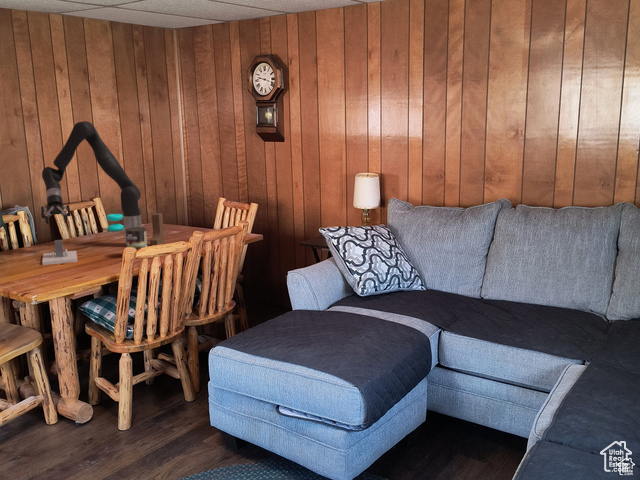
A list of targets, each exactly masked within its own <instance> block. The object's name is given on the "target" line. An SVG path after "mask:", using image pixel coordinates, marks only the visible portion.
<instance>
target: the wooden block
mask: <svg viewBox="0 0 640 480" xmlns="http://www.w3.org/2000/svg"><path fill="white" fill-rule="evenodd" d="M163 217H164V215H163V213H159V212H155V213H152V214H151V222H152V223H151V224H152V237H151V238H150V240H149V247H150V246H152V245H157V244H163V243H164V244H165V234H164V230H165V229H164V219H163Z"/></svg>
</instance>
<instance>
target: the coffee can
mask: <svg viewBox="0 0 640 480" xmlns="http://www.w3.org/2000/svg"><path fill="white" fill-rule="evenodd" d="M126 238H127V246H126V247H135V248H136V249H137V250H138V249H140V248H142V247H147V248H148V240H147V228H146V227H134V228H128V229H126Z"/></svg>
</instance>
